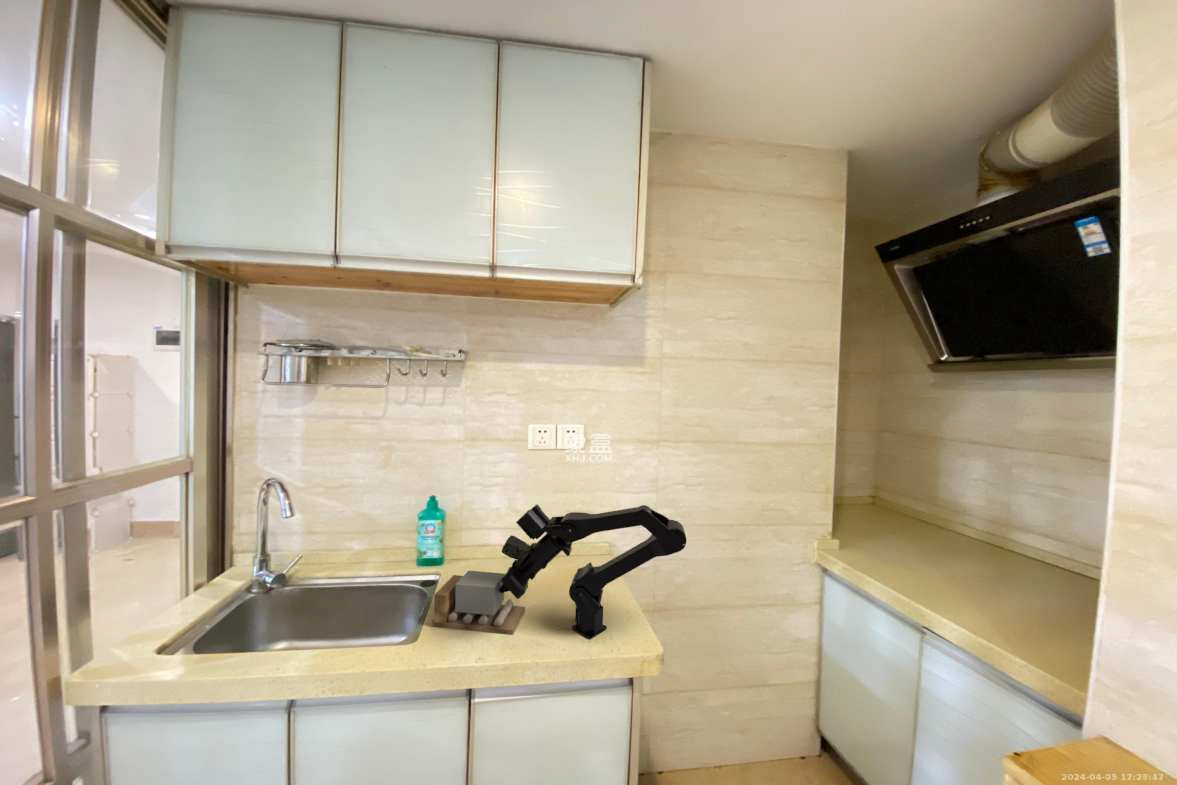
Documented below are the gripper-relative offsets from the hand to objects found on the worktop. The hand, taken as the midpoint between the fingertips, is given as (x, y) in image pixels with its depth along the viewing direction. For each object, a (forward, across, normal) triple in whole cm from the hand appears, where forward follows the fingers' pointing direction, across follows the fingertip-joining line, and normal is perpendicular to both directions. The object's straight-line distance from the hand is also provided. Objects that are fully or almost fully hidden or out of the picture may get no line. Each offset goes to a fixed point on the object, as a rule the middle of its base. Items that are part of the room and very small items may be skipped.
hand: (500, 590), depth 113 cm
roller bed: (+9, 0, +2) cm, 9 cm away
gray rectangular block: (+7, 0, -1) cm, 7 cm away
